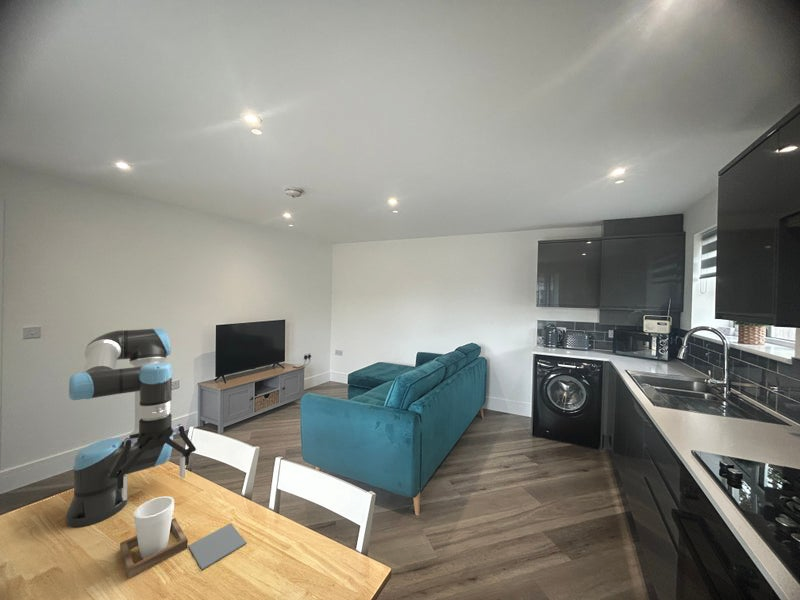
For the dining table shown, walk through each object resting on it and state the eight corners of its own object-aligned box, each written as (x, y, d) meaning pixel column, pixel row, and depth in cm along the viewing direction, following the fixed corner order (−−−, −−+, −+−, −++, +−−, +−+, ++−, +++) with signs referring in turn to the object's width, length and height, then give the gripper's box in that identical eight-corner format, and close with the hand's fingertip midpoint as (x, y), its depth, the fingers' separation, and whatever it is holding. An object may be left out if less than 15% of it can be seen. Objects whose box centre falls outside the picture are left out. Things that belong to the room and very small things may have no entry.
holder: (120, 551, 89) (120, 542, 89) (175, 525, 99) (175, 517, 99) (128, 579, 81) (128, 569, 81) (187, 547, 91) (187, 539, 91)
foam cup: (150, 566, 84) (151, 520, 84) (124, 559, 86) (125, 515, 86) (181, 539, 94) (182, 498, 94) (157, 534, 96) (157, 494, 95)
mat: (188, 546, 91) (188, 545, 91) (230, 524, 100) (230, 523, 100) (201, 570, 84) (202, 569, 84) (246, 543, 93) (246, 542, 93)
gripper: (98, 433, 77) (97, 515, 78) (207, 407, 97) (206, 473, 97) (95, 425, 82) (94, 502, 82) (199, 402, 101) (199, 464, 102)
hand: (155, 486), depth 90 cm, fingers open, 13 cm apart
